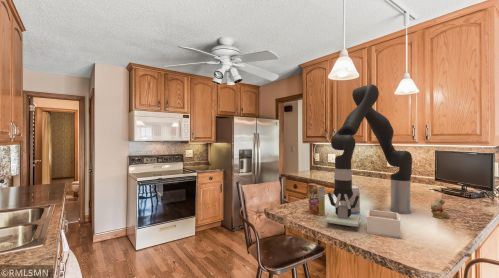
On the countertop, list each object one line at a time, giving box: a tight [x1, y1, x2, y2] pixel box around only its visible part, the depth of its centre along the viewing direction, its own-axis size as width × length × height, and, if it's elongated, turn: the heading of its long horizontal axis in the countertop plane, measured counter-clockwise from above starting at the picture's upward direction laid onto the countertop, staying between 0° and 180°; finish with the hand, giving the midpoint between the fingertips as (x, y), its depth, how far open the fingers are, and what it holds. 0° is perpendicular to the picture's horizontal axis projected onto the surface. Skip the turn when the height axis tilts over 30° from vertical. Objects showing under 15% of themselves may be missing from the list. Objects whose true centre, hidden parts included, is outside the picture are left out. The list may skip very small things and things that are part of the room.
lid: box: [324, 204, 361, 227], centre depth 113 cm, size 14×14×7 cm
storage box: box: [366, 209, 402, 239], centre depth 105 cm, size 12×12×7 cm
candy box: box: [307, 183, 326, 217], centre depth 131 cm, size 9×4×15 cm, turn 23°
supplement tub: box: [339, 184, 361, 216], centre depth 129 cm, size 10×10×15 cm
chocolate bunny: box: [430, 197, 451, 220], centre depth 124 cm, size 6×8×10 cm
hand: (343, 215), depth 113 cm, fingers closed on lid, 4 cm apart
